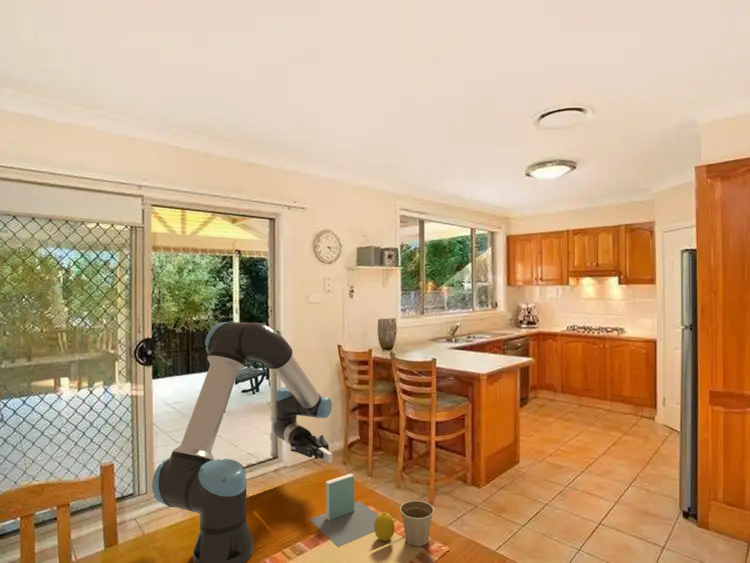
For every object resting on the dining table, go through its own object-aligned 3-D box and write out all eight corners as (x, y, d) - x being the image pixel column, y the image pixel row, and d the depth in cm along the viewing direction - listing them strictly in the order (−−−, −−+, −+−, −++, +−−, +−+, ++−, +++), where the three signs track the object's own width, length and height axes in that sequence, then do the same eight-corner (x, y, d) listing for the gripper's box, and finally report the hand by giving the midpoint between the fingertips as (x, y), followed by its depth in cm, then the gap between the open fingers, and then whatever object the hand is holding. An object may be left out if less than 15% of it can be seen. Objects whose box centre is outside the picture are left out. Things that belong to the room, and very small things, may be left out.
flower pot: (441, 540, 120) (441, 509, 120) (419, 555, 113) (418, 522, 113) (415, 526, 127) (415, 497, 127) (393, 540, 120) (392, 509, 120)
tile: (329, 521, 129) (329, 483, 129) (326, 518, 131) (325, 481, 131) (355, 511, 134) (354, 475, 134) (351, 508, 136) (351, 473, 136)
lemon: (392, 548, 116) (392, 518, 116) (372, 546, 117) (372, 516, 117) (396, 536, 122) (395, 508, 122) (376, 534, 123) (376, 506, 123)
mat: (338, 549, 116) (338, 546, 116) (309, 521, 130) (309, 519, 130) (391, 526, 127) (391, 524, 127) (359, 502, 141) (359, 500, 141)
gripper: (314, 442, 161) (348, 464, 142) (281, 451, 154) (312, 475, 135) (313, 422, 161) (347, 441, 142) (280, 430, 154) (311, 451, 135)
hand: (330, 458), depth 138 cm, fingers closed
